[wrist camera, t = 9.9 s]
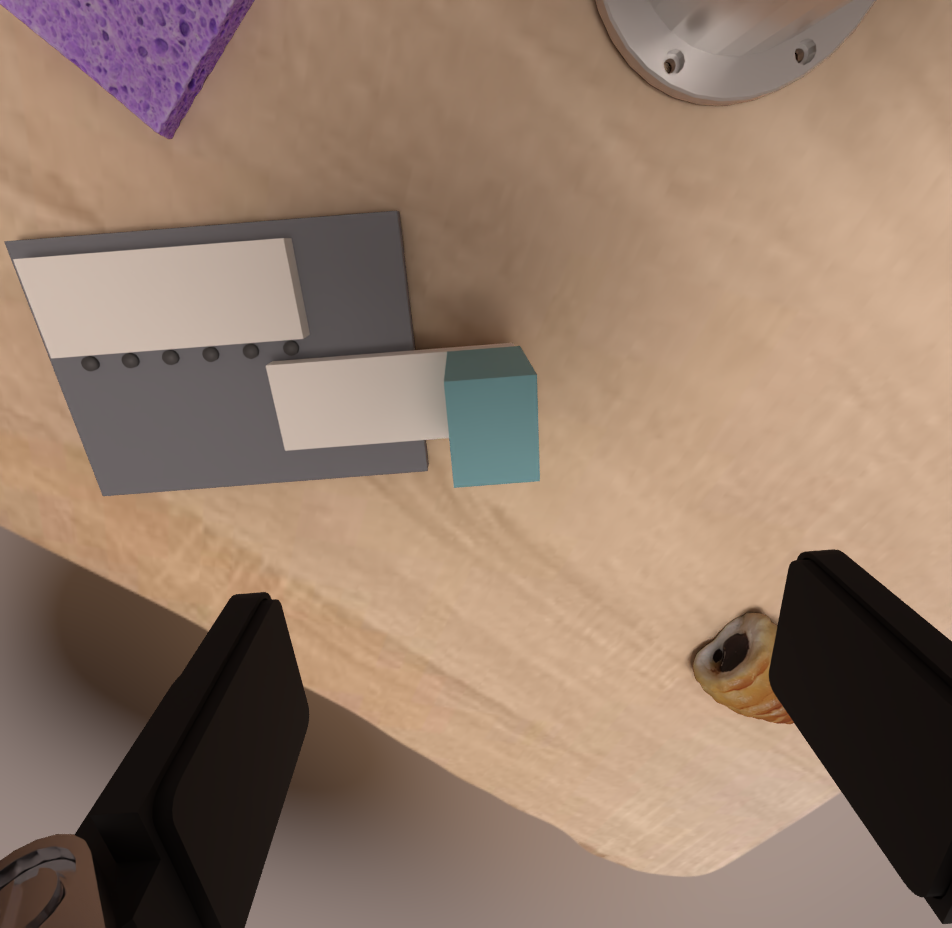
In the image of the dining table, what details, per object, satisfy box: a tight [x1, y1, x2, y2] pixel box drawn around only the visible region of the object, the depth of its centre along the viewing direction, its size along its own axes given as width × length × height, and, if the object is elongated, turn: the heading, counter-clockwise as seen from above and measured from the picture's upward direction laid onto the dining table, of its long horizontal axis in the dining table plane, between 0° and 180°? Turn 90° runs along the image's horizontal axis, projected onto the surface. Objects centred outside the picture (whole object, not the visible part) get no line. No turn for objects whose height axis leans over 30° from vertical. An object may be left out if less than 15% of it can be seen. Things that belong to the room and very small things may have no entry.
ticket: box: [13, 238, 310, 371], centre depth 25 cm, size 12×5×1 cm, turn 94°
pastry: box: [693, 613, 794, 724], centre depth 35 cm, size 9×7×4 cm
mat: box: [4, 211, 429, 496], centre depth 27 cm, size 18×13×1 cm
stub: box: [266, 343, 540, 488], centre depth 24 cm, size 12×4×7 cm, turn 94°
